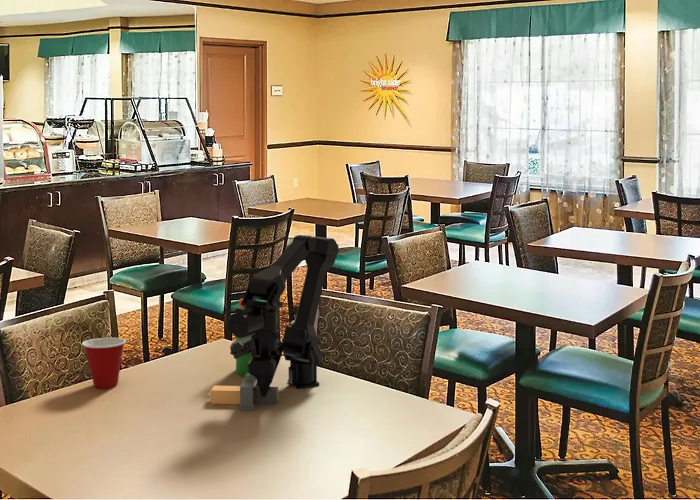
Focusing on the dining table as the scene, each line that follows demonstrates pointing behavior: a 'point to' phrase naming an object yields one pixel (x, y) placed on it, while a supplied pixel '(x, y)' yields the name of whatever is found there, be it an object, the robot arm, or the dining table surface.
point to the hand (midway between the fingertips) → (266, 389)
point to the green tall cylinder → (243, 360)
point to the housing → (248, 392)
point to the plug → (233, 395)
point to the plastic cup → (104, 360)
